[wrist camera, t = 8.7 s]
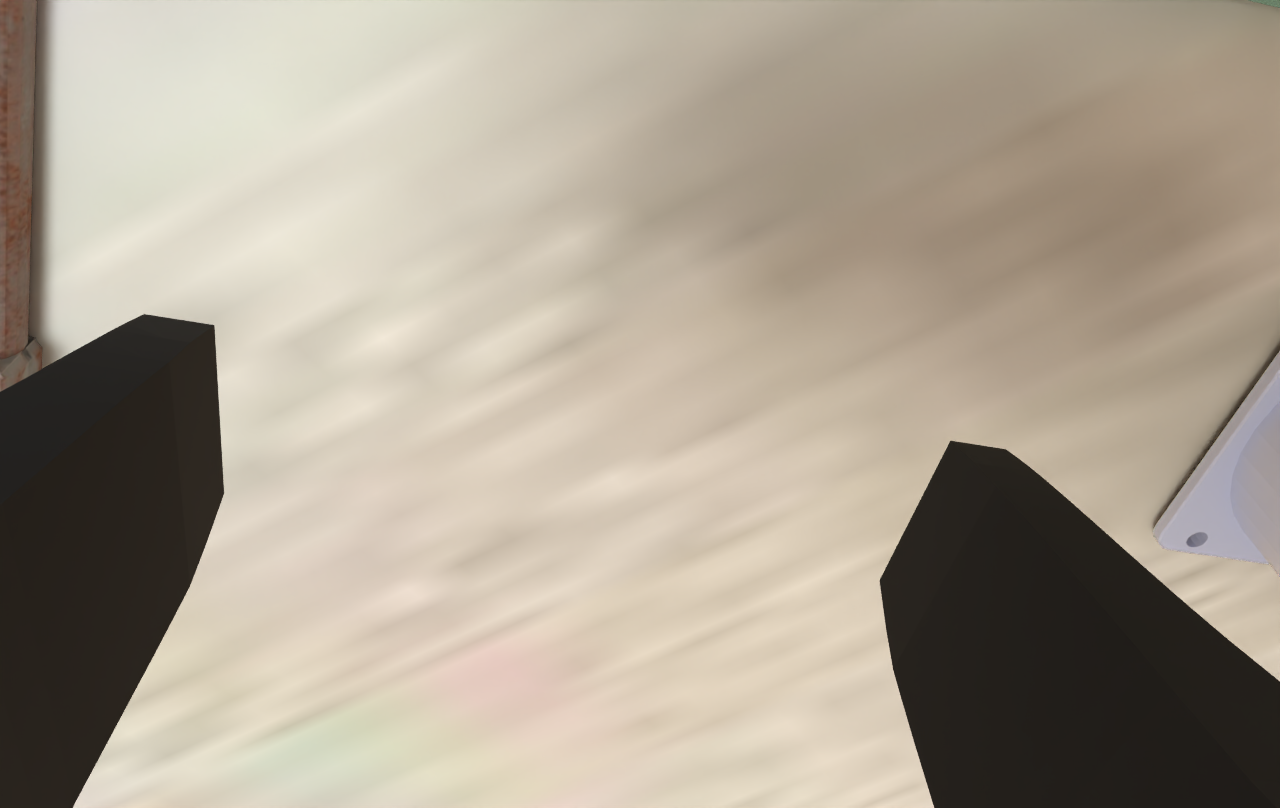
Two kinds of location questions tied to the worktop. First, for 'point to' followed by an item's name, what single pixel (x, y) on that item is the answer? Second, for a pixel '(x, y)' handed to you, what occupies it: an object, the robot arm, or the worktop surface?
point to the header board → (1269, 2)
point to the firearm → (16, 188)
